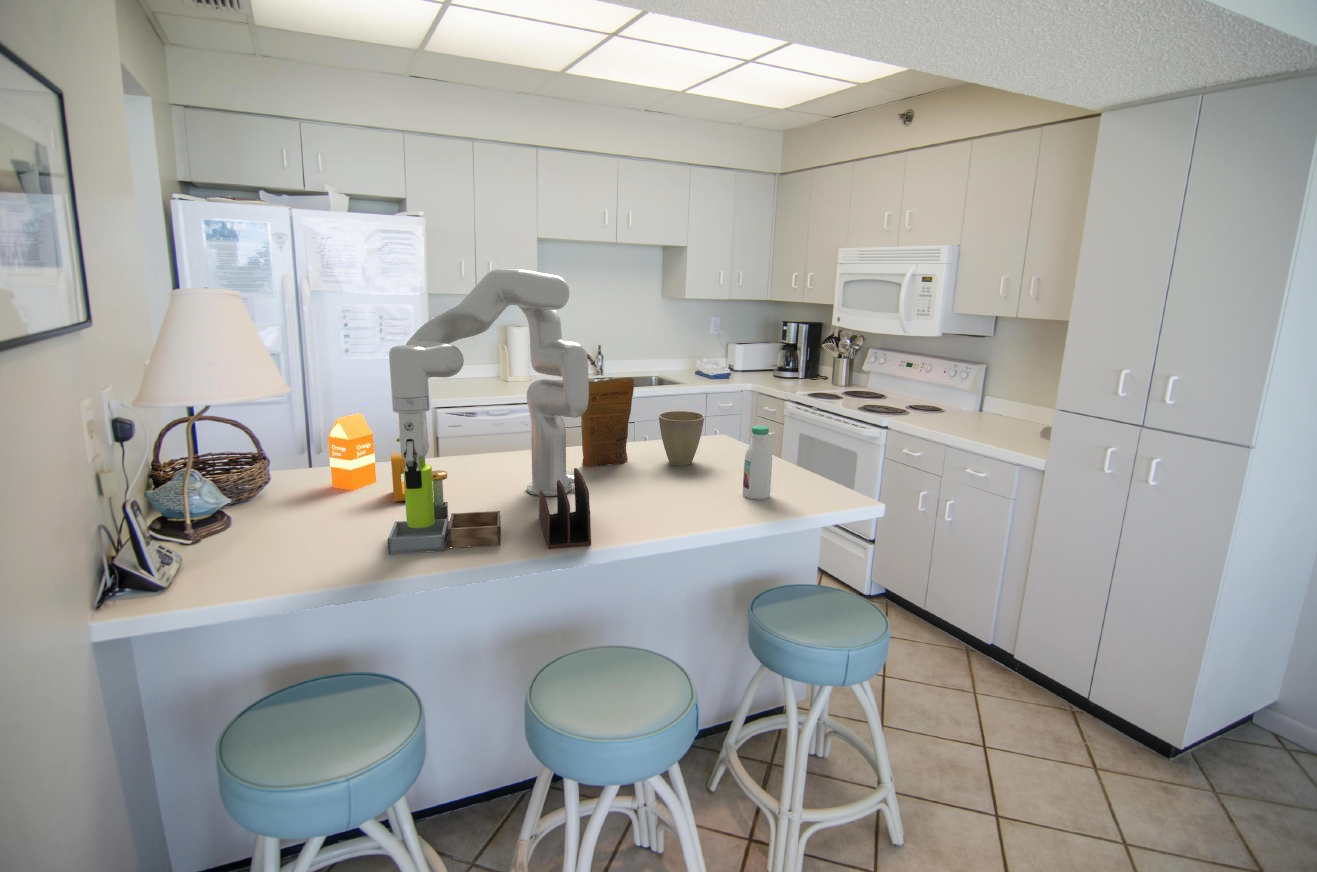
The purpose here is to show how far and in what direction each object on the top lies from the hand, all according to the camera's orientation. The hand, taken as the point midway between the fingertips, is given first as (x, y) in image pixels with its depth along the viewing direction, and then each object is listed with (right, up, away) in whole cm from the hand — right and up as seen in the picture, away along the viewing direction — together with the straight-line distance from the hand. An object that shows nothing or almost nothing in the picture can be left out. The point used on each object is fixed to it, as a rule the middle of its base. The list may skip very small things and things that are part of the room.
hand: (416, 482), depth 149 cm
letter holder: (+31, -13, +12) cm, 36 cm away
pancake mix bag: (+37, +1, +70) cm, 79 cm away
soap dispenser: (0, -10, +2) cm, 10 cm away
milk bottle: (+81, -7, +42) cm, 92 cm away
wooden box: (+11, -13, +7) cm, 19 cm away
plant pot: (+61, +1, +73) cm, 95 cm away
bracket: (-14, -6, +34) cm, 38 cm away
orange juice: (-33, -4, +43) cm, 54 cm away
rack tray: (0, -14, +3) cm, 14 cm away
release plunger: (+1, -11, +12) cm, 16 cm away
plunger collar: (+1, -12, +12) cm, 17 cm away
